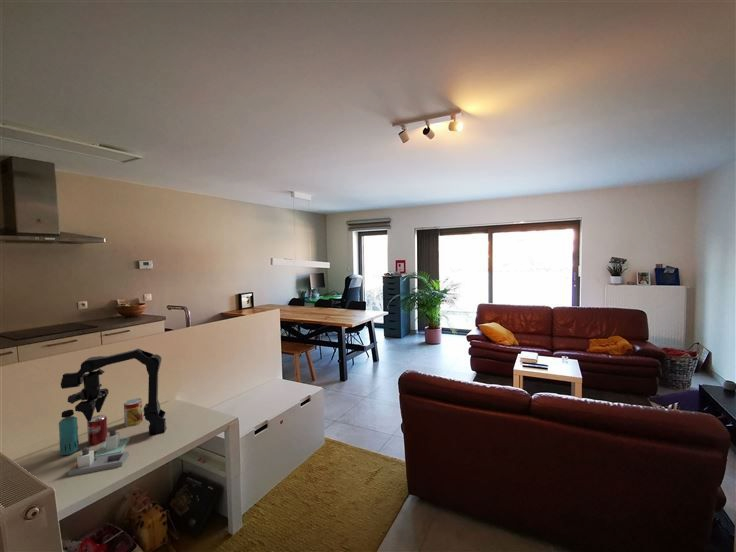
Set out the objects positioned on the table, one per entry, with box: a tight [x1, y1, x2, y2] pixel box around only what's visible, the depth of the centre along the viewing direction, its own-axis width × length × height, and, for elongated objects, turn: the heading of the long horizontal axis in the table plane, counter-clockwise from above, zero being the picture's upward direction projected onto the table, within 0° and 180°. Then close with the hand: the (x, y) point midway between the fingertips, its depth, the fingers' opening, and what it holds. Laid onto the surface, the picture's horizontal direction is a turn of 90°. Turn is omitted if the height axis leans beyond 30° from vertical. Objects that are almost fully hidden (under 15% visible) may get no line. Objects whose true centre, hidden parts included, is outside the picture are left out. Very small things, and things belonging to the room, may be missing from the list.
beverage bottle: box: [58, 409, 80, 456], centre depth 145 cm, size 6×7×20 cm
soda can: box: [86, 414, 108, 446], centre depth 155 cm, size 7×7×12 cm
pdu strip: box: [68, 451, 129, 477], centre depth 136 cm, size 18×8×3 cm, turn 110°
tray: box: [94, 436, 132, 457], centre depth 150 cm, size 13×10×1 cm
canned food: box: [123, 397, 144, 428], centre depth 173 cm, size 8×8×12 cm
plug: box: [106, 428, 121, 451], centre depth 149 cm, size 4×4×8 cm
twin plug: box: [76, 446, 95, 468], centre depth 135 cm, size 4×4×8 cm
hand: (93, 416), depth 152 cm, fingers open, 9 cm apart
